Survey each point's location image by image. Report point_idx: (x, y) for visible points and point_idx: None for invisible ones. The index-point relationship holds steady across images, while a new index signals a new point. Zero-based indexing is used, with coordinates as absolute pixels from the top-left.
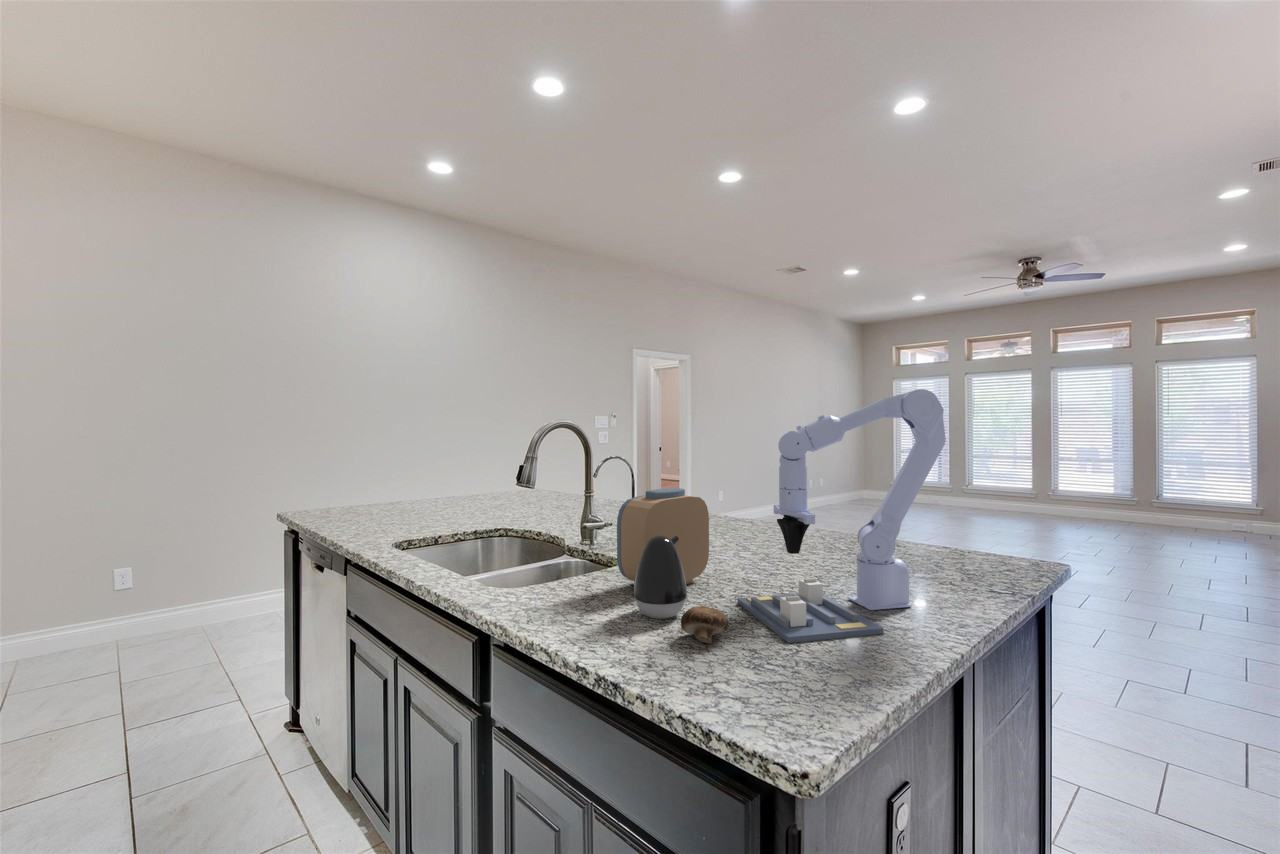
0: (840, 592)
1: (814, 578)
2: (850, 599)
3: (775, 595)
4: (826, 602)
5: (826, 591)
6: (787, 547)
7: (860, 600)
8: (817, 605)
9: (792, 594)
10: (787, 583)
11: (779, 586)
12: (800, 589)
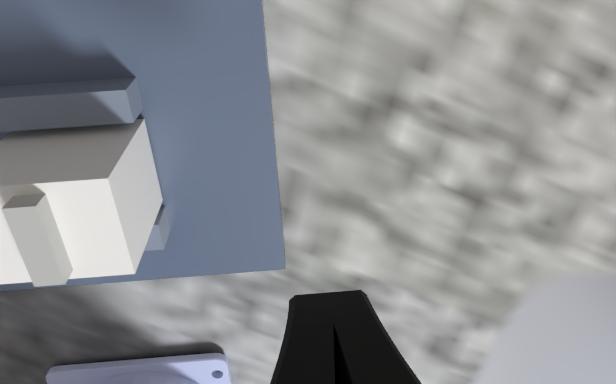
0: None
1: (45, 276)
2: (196, 355)
3: (255, 4)
4: None
5: None
6: (339, 329)
7: (130, 378)
8: None
9: (259, 125)
10: (553, 203)
11: (521, 140)
12: (98, 150)
